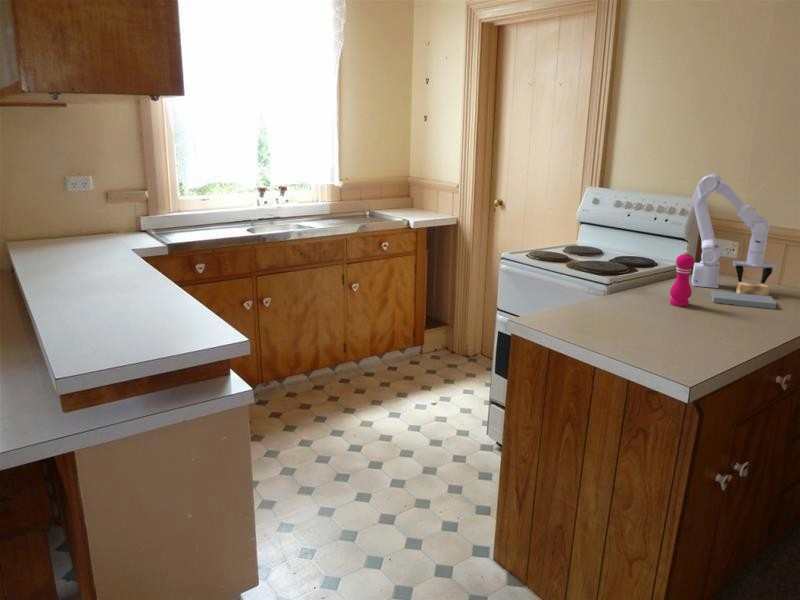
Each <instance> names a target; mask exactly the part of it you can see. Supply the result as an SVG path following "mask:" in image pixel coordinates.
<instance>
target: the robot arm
mask: <svg viewBox="0 0 800 600" xmlns="http://www.w3.org/2000/svg"><path fill="white" fill-rule="evenodd" d="M712 193H714V194H718V195H722V196H724V198H725V199H727V201H728V202H729V203H730V204H731V205H733V207H734V208H735V209H736V210H737V212H736V214H737V216H738V217H739V219H741V220H742V222H743V223H744V224H745V226H747V227H748V228H750V232H751V237H750V240H749V245H748V248H747V249H748V250H747V256H746V260H733V261H732V267H735V271H736V275H737V278H738V279H737V283H738V282H743V280H742V279H743V274H744V268H754V269H762V274H761V275H762V276H761V278H760V279H761V280H760V283H761V284H766V282H767V280H768V279H769V277H770V276H771V274H773V271H776V269H777V264H775V263H772V262H770V263H769V262H765V261H764V259H765V254H766V250H767V243H768V240H767V239H768V237H769V236H768V233H769V232H770V229H771V226H770V224H769V221H768V220H767V219H765V217H764V216H762V215H761V214H760V213H759V212H758V211H757V207H756V206H755V205H753V206H752V205H751V204H746V203H745V202H744V201H743V200H742V199H741V198H740V196H739V195H738V194H737V193H736V192H735V191H734V189H733V187H731V186H730V185H729V184H728V183H727V182H726V180H724V179H721V176H720V175H718V174H716V173H710V174H707V175H705V176H703V177H702V178H701V179H700V181H699V182H698V183H697V184H696V188H695V191H694V193H693V194H692V198H691V201H692V205H693V209H694V213H695V219H696V223H697V227H698V231H699V235H700V239H701V255H700V258H701V260H700V262H694V265H693V266H692V267H693V268H692V274H691V285H692V286H693V287H704V288H705V287H706V288H714V289H718V288H719V285H718V278H719V272H720V267H721V263H720V261H719V259H721V256H722V249H721V248H720V247H719V245H718V242H717V240H716V238H715V237H716V236H715V233H714V229H713V224H712V220H711V215H710V211H709V210H710V209H709V205H708V201H707V199H708V198H709V197H710V196H711V194H712Z"/></svg>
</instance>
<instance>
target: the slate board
mask: <svg viewBox="0 0 800 600" xmlns="http://www.w3.org/2000/svg"><path fill="white" fill-rule="evenodd" d="M711 297H712V298H711ZM710 298H711V301H712V302H713V304H719V303H723V304H722V305H729V304H733V305H732V306H739V305H740V307H741V306H742V307H750V308H751V307H752V308H761V309H771V310H776V309H777V308H776V307H777V302H776V301H775V300H774V298H773V297H772V296H770V295H769V296H760V295H750V294H739V293H736V292H728V291H727V292H726V291H719V290H718V291H717V290H711V291H710Z"/></svg>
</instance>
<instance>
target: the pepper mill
mask: <svg viewBox="0 0 800 600" xmlns="http://www.w3.org/2000/svg"><path fill="white" fill-rule="evenodd" d="M694 263H695V258H694V257H693V256H692V254H691V255H690V251H689V250H687V249H685V250H684V251H683V254H680V255H678V257H676V259H675V264H676V270H675V272H676V278H675V281H674V282H673V284H672V285H671V287H670V289H669V295H670V299H669V304H670V305H671V304H672V305H671V306H674V305H675V307H679V306H686V307H688V306H689V303H690V301H689V299H690V298H691V296H692V288H691V284H690V280H689V279H690V274H691V273H692V271H693V268H692V267H694Z"/></svg>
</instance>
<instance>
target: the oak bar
mask: <svg viewBox="0 0 800 600" xmlns="http://www.w3.org/2000/svg"><path fill="white" fill-rule="evenodd" d="M770 290H771V287H770V286H769V284H767V283H765V284H761V282H760V283H759V282H758V283H757V282H746V281H742V282H738V281H737V285H736V290H735V293H739V294H750V295H760V296H770Z"/></svg>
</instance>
